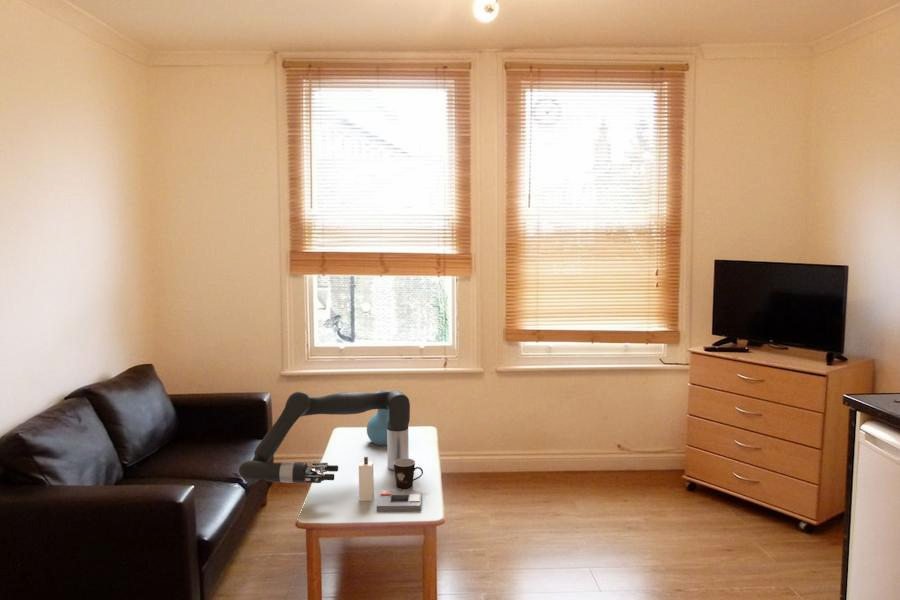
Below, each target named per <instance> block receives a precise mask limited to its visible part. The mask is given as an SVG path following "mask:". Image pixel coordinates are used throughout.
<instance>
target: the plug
mask: <svg viewBox="0 0 900 600" xmlns="http://www.w3.org/2000/svg"><path fill="white" fill-rule="evenodd" d="M374 479H375V478H374V460H369V456H363V461H361V460H360V461H359V464H358V489H359V490H358V492H359V493H358V495H359V496H358V497H359V499H358V500H359V502H373V500H374V497H375V490H374V489H375V485H374V482H375V481H374Z"/></svg>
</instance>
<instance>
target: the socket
mask: <svg viewBox="0 0 900 600" xmlns="http://www.w3.org/2000/svg"><path fill="white" fill-rule="evenodd" d="M421 506H422V491H395V492H394V491H391V490H388V491H386V490H385V491H384V490H383V491H382V490H381V491H380V492H379V494H378V499H377V504H376V512H413V511H415V512H419V511H421V508H422V507H421Z"/></svg>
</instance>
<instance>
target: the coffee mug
mask: <svg viewBox="0 0 900 600" xmlns="http://www.w3.org/2000/svg"><path fill="white" fill-rule="evenodd" d="M417 469H419V470H420V472H421V474H420V475H419V476H417V477H416V478H414V476H415V475H414V474H415V471H416V470H417ZM393 471H394V475H395V476H394V477H395V482H396V488H397V489H399V490H403V491H404V490H409V489H412V488H413V483H414V481H417V480H418V479H420V478H421V477H422V476H423V475H424V470H423V469H422V467H420V466H416V461H415V460H414V459H412V458H409V459H407V458H403V459H398V460H395V461H394V470H393Z"/></svg>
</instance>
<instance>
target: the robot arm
mask: <svg viewBox="0 0 900 600" xmlns="http://www.w3.org/2000/svg"><path fill="white" fill-rule="evenodd" d="M410 404H411V403H410V399H409V397H408V396H407V395H406V394H404V392H403V391H400V390H395V389H394V390H386V392H378V393H376V392H365V391H364V392H363V391H361V392H357V391H354V392H347V391H345V392H337V393H333V394H332V393H331V394H327V395H323V396H309V395H308V393H307V392H304V391H295V392H293V393H291V394H290V395H289V396H288V398H287V400H286V402H285V405H284V408H283V410H282V412H281V414H280V415H279V417H278V418H277V420H276V421H275V422H274V424H273V425H272V426H271V428H270V429H269V430H268V432H267V433H266V434H265V435H264V436H263V438H262V440H261V441H260V442H259V444H257V446H256V448H255V449H254V454H253V455H254V456H253V459H252V460H246V461H244V462H242V463H241V464H240V466H238V467H239V468H238V473H239V476H240V477H241V478H242V480H243V481H244V482H245V483H247V484H249V485H252V484H253V485H254V484H255V483H257V482H259V480H265V481H267V482H272V483H287V484H289V483H290V484H291V483H293V484H294V483H295V484H298V483H300V484H303V483H307V484H308V483H309V484H310V483H311V484H320V483H322V482H324V481H334V480H335V474H334V473H327V472H339V465H333V464H331V465H329V464H328V462H312V464H311V465H310V466H308V463H307V462H304V461H302V462H301V461H299V462H298V461H296V462H293V461H290V462H289V461H287V462H286V461H285V462H270V461H271V459H272V458H273V456H274V455H275V453H276V452H277V451H278V449H279V448H280V446H281V445H282V443H283V441H284V440H285V438H286V437H287V434H288V433H289V431H291V428H292V427H293V426H294V424H295V423H296V422H297V421H298V420H299V418H300V417H301V418H302V417H306V416H313V415H332V416H333V415H339V416H340V415H343V416H344V415H346V416H347V415H358V414H362V413H366V412H368V411H371V410H378V409H386V410H389V421H388V422H387V445H386V447H387V448H386V449H387V468H388V469H389V470H391V471H392V470H393V471H395V470H394V461H395V460H398V459H403V458H407V459H410V458H409V457H410V455H409V452H410V451H409V449H410V448H409V424H410V421H411V420H410V417H411V415H410V414H411V405H410Z"/></svg>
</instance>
